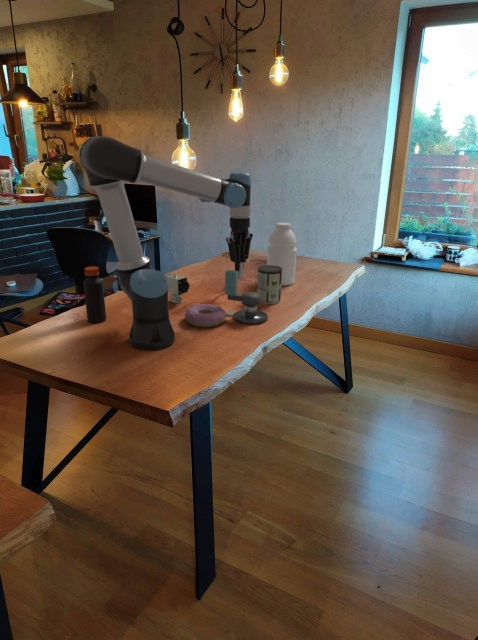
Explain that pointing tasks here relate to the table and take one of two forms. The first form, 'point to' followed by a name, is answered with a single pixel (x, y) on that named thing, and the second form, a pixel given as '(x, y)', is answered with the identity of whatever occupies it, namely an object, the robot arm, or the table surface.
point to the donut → (205, 315)
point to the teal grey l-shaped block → (231, 290)
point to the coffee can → (269, 284)
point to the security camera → (177, 287)
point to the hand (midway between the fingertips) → (239, 278)
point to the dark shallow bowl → (249, 315)
